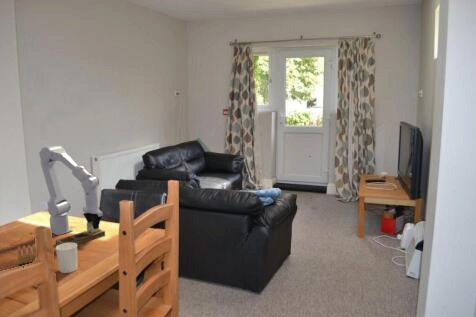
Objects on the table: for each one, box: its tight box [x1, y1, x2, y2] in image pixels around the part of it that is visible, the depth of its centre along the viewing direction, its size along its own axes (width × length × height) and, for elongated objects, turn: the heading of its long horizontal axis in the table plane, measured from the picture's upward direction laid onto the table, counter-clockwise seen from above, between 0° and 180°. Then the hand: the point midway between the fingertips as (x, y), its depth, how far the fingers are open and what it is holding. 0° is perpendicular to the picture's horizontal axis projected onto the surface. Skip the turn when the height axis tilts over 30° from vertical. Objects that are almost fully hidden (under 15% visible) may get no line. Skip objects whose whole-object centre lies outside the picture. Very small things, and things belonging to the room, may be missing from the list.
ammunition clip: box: [17, 243, 37, 266], centre depth 160 cm, size 11×2×12 cm, turn 117°
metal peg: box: [86, 222, 100, 234], centre depth 200 cm, size 4×4×6 cm
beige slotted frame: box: [55, 228, 106, 246], centre depth 196 cm, size 8×21×2 cm, turn 141°
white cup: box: [55, 242, 78, 274], centre depth 163 cm, size 8×8×10 cm
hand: (93, 227), depth 200 cm, fingers closed on metal peg, 4 cm apart
